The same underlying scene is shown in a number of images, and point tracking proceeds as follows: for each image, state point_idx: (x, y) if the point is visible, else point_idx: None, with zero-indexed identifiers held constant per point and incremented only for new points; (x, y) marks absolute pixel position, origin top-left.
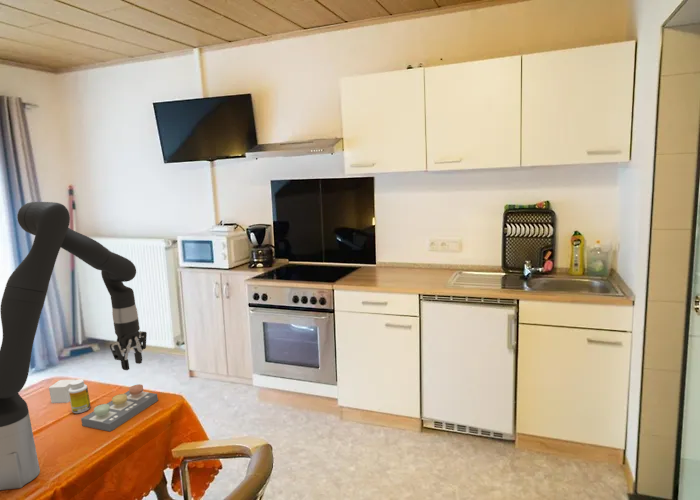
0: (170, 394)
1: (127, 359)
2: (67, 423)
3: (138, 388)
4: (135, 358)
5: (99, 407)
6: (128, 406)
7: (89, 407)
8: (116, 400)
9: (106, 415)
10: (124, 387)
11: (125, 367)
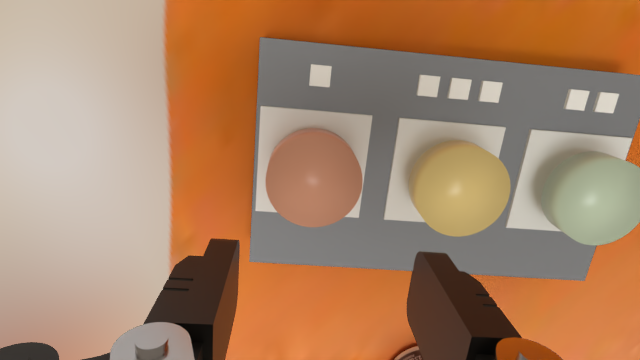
0: (169, 5)
1: (480, 340)
2: (538, 338)
3: (327, 149)
4: (227, 341)
5: (604, 217)
6: (448, 115)
7: (414, 349)
8: (508, 178)
9: None
10: None
11: (472, 285)
